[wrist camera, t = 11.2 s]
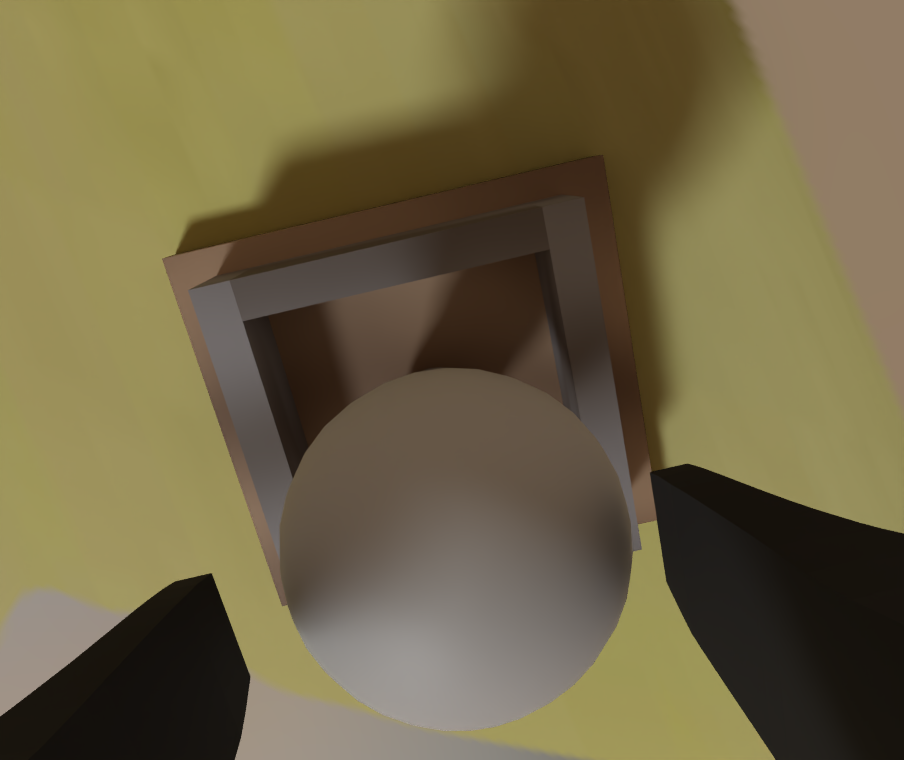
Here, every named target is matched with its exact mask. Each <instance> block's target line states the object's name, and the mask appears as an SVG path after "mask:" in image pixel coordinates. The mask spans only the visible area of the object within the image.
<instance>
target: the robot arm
mask: <svg viewBox="0 0 904 760" xmlns="http://www.w3.org/2000/svg"><path fill="white" fill-rule="evenodd" d="M650 478H651V484H652V491H653V497H654V504H655V510H656V517H657V523H658V530H659V536H660V543H661V549H662V556H663V562H664V569H665V575H666V581H667V584H668V586H669V588H670V590H671V592H672V594H673V596H674V598H675V601H676V603H677V605H678V607H679V609H680V611H681V613H682V615H683V617H684V619H685V621H686V623H687V625H688V627H689V629H690V631H691V633H692V635H693V636H694V638H695V639H696V641H697V642H698V644H699V645H700V647H701V649H702V650H703V652H704V653H705V655H706V656H707V658H708V659H709V661H710V662H711V664H712V665H713V667H714V668H715V670H716V671H717V673H718V674H719V676H720V677H721V679H722V680H723V682H724V683H725V685H726V686H727V688H728V689H729V691H730V692H731V694H732V695H733V697H734V698H735V700H736V701H737V703H738V704H739V706H740V707H741V709H742V710H743V712H744V713H745V715H746V716H747V717H748V719H749V720H750V722H751V723H752V725H753V726H754V728H755V729H756V731H757V732H758V734H759V735H760V737H761V738H762V740H763V741H764V743H765V744H766V746H767V747H768V749H769V750H770V752H771V753H772V755H773V756H774V758H775V760H904V534H903V533H899V532H894V531H890V530H886V529H881V528H878V527H874V526H870V525H866V524H862V523H859V522H855V521H852V520H849V519H845V518H842V517H839V516H836V515H832V514H829V513H826V512H823V511H819V510H816V509H813V508H810V507H807V506H804V505H801V504H798V503H795V502H792V501H790V500H787V499H784V498H781V497H778V496H776V495H773V494H770V493H767V492H765V491H762V490H759V489H757V488H754V487H751V486H749V485H746V484H744V483H741V482H738V481H736V480H733V479H731V478H728V477H725V476H723V475H720V474H717V473H715V472H712V471H709V470H706V469H704V468H701V467H698V466H694V465H690V464H683V465H679V466H675V467H670V468H666V469H662V470H657V471H653V472H650ZM249 684H250V674H249V672H248V669H247V666H246V664H245V661H244V658H243V656H242V653H241V650H240V648H239V645H238V642H237V640H236V637H235V634H234V632H233V629H232V626H231V624H230V621H229V618H228V616H227V613H226V610H225V608H224V605H223V602H222V600H221V597H220V594H219V592H218V589H217V586H216V584H215V581H214V578H213V576H212V573H210V574H206V575H201V576H197V577H193V578H188V579H184V580H180V581H175V582H174V583H172V584H170V585H169V586H167V587H165V588H164V589H162V590H161V591H160V592H158V593H157V594H155V595H154V596H153V597H151V598H150V599H149V600H147V601H146V602H145V603H144V604H142V605H141V606H140V607H138V608H137V609H136V610H135V611H133V612H132V613H131V614H130V615H128V616H127V617H126V618H125V619H124V620H122V621H121V622H120V623H119V624H118V625H116V626H115V627H114V628H113V629H111V630H110V631H109V632H108V633H106V634H105V635H104V636H103V637H101V638H100V639H99V640H98V641H97V642H95V643H94V644H93V645H92V646H91V647H89V648H88V649H87V650H86V651H84V652H83V653H82V654H81V655H79V656H78V657H77V658H76V659H75V660H73V661H72V662H71V663H70V664H68V665H67V666H66V667H64V668H63V669H62V670H60V671H59V672H58V673H57V674H55V675H54V676H53V677H51V678H50V679H49V680H47V681H46V682H45V683H44V684H42V685H41V686H40V687H38V688H37V689H36V690H34V691H33V692H32V693H31V694H30V695H28V696H27V697H25V698H24V699H23V700H22V701H20V702H19V703H18V704H16V705H15V706H14V707H12V708H11V709H10V710H8V711H7V712H6V713H5V714H3V715H2V716H0V760H235V757H236V753H237V750H238V746H239V742H240V739H241V734H242V729H243V723H244V717H245V712H246V705H247V697H248V691H249Z"/></svg>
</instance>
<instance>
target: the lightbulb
mask: <svg viewBox="0 0 904 760" xmlns="http://www.w3.org/2000/svg"><path fill="white" fill-rule="evenodd" d="M279 529H280V575H281V580H282V584H283V588H284V592H285V597H286V601H287V605H288V608H289V610H290V613H291V616H292V619H293V621H294V624H295V626H296V628H297V630H298V632H299V634H300V636H301V638H302V640H303V642H304V644H305V646H306V648H307V649H308V651H309V652H310V653H311V655H312V656H313V657H314V658H315V660H316V661H317V662H318V664H319V665H320V666H321V667H322V669H323V670H324V671H325V672H326V673H327V674H328V675H329V676H330V677H331V678H332V679H333V680H334V681H335V682H337V683H338V684H339V685H340V686H341V687H342V688H344V689H345V690H346V691H347V692H348V693H349V694H351V695H352V696H353V697H354V698H355V699H356V700H358V701H359V702H361V703H363V704H365V705H366V706H368V707H370V708H372V709H373V710H375V711H377V712H379V713H380V714H382V715H385V716H388V717H390V718H393V719H396V720H399V721H402V722H405V723H408V724H411V725H415V726H419V727H425V728H431V729H437V730H442V731H471V730H478V729H484V728H490V727H496V726H499V725H502V724H505V723H508V722H511V721H514V720H517V719H520V718H522V717H524V716H526V715H528V714H530V713H532V712H534V711H536V710H538V709H540V708H542V707H543V706H545V705H547V704H549V703H550V702H552V701H553V700H555V699H556V698H557V697H558V696H560V695H561V694H562V693H564V692H565V691H566V690H568V689H569V688H570V687H572V686H573V685H574V684H575V683H576V682H577V681H578V680H579V679H580V678H581V677H582V675H583V674H584V673H585V672H586V671H587V670H588V669H589V668H590V667H591V666H592V665H593V663H594V662H595V660H596V658H597V657H598V655H599V654H600V652H601V650H602V649H603V647H604V646H605V644H606V642H607V641H608V639H609V638H610V636H611V634H612V633H613V631H614V629H615V628H616V626H617V624H618V621H619V618H620V615H621V613H622V610H623V607H624V605H625V602H626V599H627V594H628V587H629V580H630V573H631V565H632V554H633V549H632V535H631V521H630V517H629V512H628V507H627V503H626V500H625V497H624V493H623V490H622V487H621V483H620V480H619V477H618V474H617V473H616V471H615V469H614V467H613V465H612V464H611V462H610V460H609V458H608V456H607V455H606V453H605V451H604V449H603V448H602V446H601V445H600V443H599V442H598V441H597V439H596V438H595V437H594V435H593V434H592V433H591V432H590V431H589V430H588V429H587V427H586V426H585V425H584V424H583V423H582V422H581V421H580V420H579V418H578V417H577V416H576V415H575V414H574V413H573V412H572V411H570V410H569V409H568V408H566V407H565V406H564V405H562V404H561V403H560V402H558V401H557V400H555V399H554V398H553V397H551V396H550V395H549V394H547V393H545V392H543V391H541V390H539V389H537V388H535V387H532V386H530V385H528V384H526V383H524V382H521V381H519V380H517V379H514V378H511V377H509V376H505V375H500V374H496V373H492V372H488V371H484V370H479V369H464V368H441V367H436V368H429V369H426V370H423V371H420V372H414V373H412V374H409V375H406V376H403V377H400V378H397V379H394V380H392V381H389V382H386V383H384V384H382V385H380V386H379V387H377V388H375V389H374V390H372V391H370V392H368V393H367V394H365V395H363V396H362V397H360V398H358V399H357V400H355V401H354V402H352V403H350V404H349V405H348V406H347V407H346V408H345V409H344V410H342V411H341V412H340V413H339V414H338V415H337V416H336V417H335V418H333V419H332V420H331V421H330V422H329V423H328V424H327V425H326V426H324V428H323V429H322V430H321V432H320V433H319V434H318V436H317V437H316V438H315V440H314V441H313V443H312V444H311V445H310V447H309V448H308V449H307V451H306V452H305V454H304V456H303V458H302V460H301V462H300V464H299V467H298V469H297V471H296V473H295V475H294V478H293V480H292V482H291V484H290V487H289V490H288V492H287V495H286V499H285V503H284V508H283V513H282V517H281V522H280V527H279Z"/></svg>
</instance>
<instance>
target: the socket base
mask: <svg viewBox="0 0 904 760" xmlns="http://www.w3.org/2000/svg"><path fill="white" fill-rule="evenodd" d="M162 260H163V263H164V266H165V269H166V271H167V274H168V277H169V280H170V283H171V286H172V289H173V292H174V295H175V297H176V300H177V303H178V306H179V309H180V312H181V315H182V318H183V321H184V323H185V326H186V329H187V332H188V335H189V338H190V341H191V344H192V347H193V350H194V352H195V355H196V358H197V361H198V364H199V367H200V370H201V373H202V376H203V378H204V381H205V384H206V387H207V390H208V393H209V396H210V399H211V402H212V404H213V407H214V410H215V413H216V416H217V419H218V422H219V425H220V428H221V431H222V433H223V436H224V439H225V442H226V445H227V448H228V451H229V454H230V457H231V459H232V462H233V465H234V468H235V471H236V474H237V477H238V480H239V483H240V485H241V488H242V491H243V494H244V497H245V500H246V503H247V506H248V509H249V512H250V514H251V517H252V520H253V523H254V526H255V529H256V532H257V535H258V538H259V540H260V543H261V546H262V549H263V552H264V555H265V558H266V561H267V564H268V566H269V569H270V572H271V575H272V578H273V581H274V584H275V587H276V590H277V593H278V595H279V598H280V601H281V604H282V606H285V605H287V601H286V597H285V592H284V588H283V584H282V580H281V575H280V529H279V527H280V522H281V517H282V513H283V508H284V503H285V499H286V495H287V492H288V490H289V487H290V484H291V482H292V480H293V478H294V475H295V473H296V471H297V469H298V467H299V464H300V462H301V460H302V458H303V456H304V454H305V452H306V451H307V449H308V448H309V447H310V445H311V444H312V443H313V441H314V440H315V438H316V437H317V436H318V434H319V433H320V432H321V430H322V429H323V428H324V426H326V425H327V424H328V423H329V422H330V421H331V420H332V419H333V418H335V417H336V416H337V415H338V414H339V413H340V412H341V411H342V410H344V409H345V408H346V407H347V406H348V405H349V404H350V403H352V402H354V401H355V400H357V399H358V398H360V397H362V396H363V395H365V394H367V393H368V392H370V391H372V390H374V389H375V388H377V387H379V386H380V385H382V384H384V383H386V382H389V381H392V380H394V379H397V378H400V377H403V376H406V375H409V374H412V373H414V372H420V371H423V370H426V369H429V368H436V367H441V368H464V369H479V370H484V371H488V372H492V373H496V374H500V375H505V376H509V377H511V378H514V379H517V380H519V381H521V382H524V383H526V384H528V385H530V386H532V387H535V388H537V389H539V390H541V391H543V392H545V393H547V394H549V395H550V396H551V397H553V398H554V399H555V400H557V401H558V402H560V403H561V404H562V405H564V406H565V407H566V408H568V409H569V410H570V411H572V412H573V413H574V414H575V415H576V416H577V417H578V418H579V420H580V421H581V422H582V423H583V424H584V425H585V426H586V427H587V429H588V430H589V431H590V432H591V433H592V434H593V435H594V437H595V438H596V439H597V441H598V442H599V443H600V445H601V446H602V448H603V449H604V451H605V453H606V455H607V456H608V458H609V460H610V462H611V464H612V465H613V467H614V469H615V471H616V473H617V474H618V477H619V480H620V483H621V487H622V490H623V493H624V497H625V500H626V503H627V507H628V512H629V517H630V521H631V535H632V549H633V551H637V550H641V549H642V548H641V542H640V536H639V530H638V524H642V523H646V522H650V521H655V520H657V517H656V510H655V504H654V497H653V491H652V484H651V478H650V472H652V471H651V465H650V458H649V452H648V445H647V439H646V432H645V426H644V419H643V413H642V406H641V400H640V393H639V386H638V380H637V373H636V367H635V360H634V354H633V347H632V341H631V334H630V328H629V321H628V315H627V308H626V302H625V295H624V289H623V282H622V276H621V269H620V263H619V256H618V250H617V243H616V237H615V230H614V223H613V217H612V210H611V204H610V197H609V191H608V184H607V178H606V171H605V165H604V158H603V155H599V156H592V157H587V158H583V159H579V160H575V161H570V162H566V163H562V164H558V165H553V166H549V167H545V168H541V169H536V170H532V171H528V172H524V173H519V174H515V175H511V176H507V177H502V178H498V179H494V180H490V181H485V182H481V183H477V184H473V185H468V186H464V187H460V188H456V189H451V190H447V191H443V192H439V193H434V194H430V195H426V196H422V197H417V198H413V199H409V200H405V201H400V202H396V203H392V204H388V205H383V206H379V207H375V208H371V209H366V210H362V211H358V212H354V213H349V214H345V215H341V216H337V217H332V218H328V219H324V220H320V221H315V222H311V223H307V224H303V225H299V226H294V227H290V228H286V229H282V230H277V231H273V232H269V233H265V234H260V235H256V236H252V237H248V238H243V239H239V240H235V241H231V242H226V243H222V244H218V245H214V246H209V247H205V248H201V249H197V250H192V251H188V252H184V253H180V254H175V255H172V256H169V257H166V258H163V259H162Z"/></svg>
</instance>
